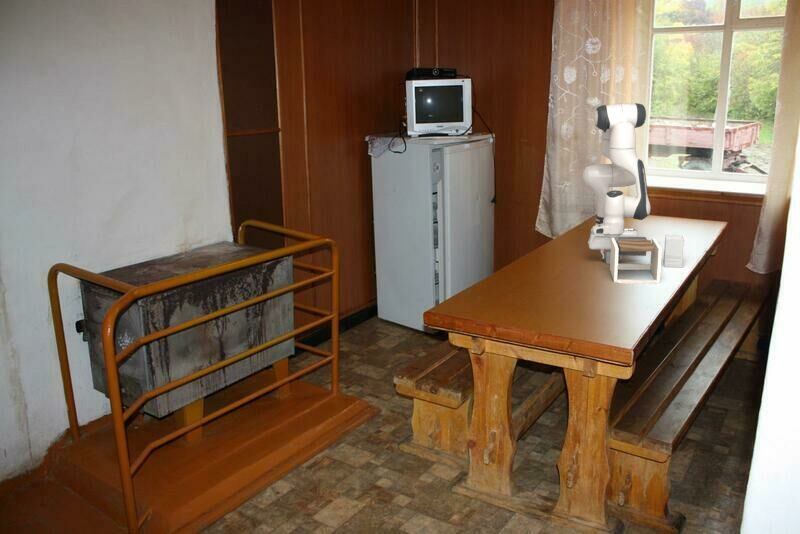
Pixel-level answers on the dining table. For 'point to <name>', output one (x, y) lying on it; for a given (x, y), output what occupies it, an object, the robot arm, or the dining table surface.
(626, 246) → the trapdoor
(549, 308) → the dining table surface
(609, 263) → the light grey cube
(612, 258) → the frame
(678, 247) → the supplement box
